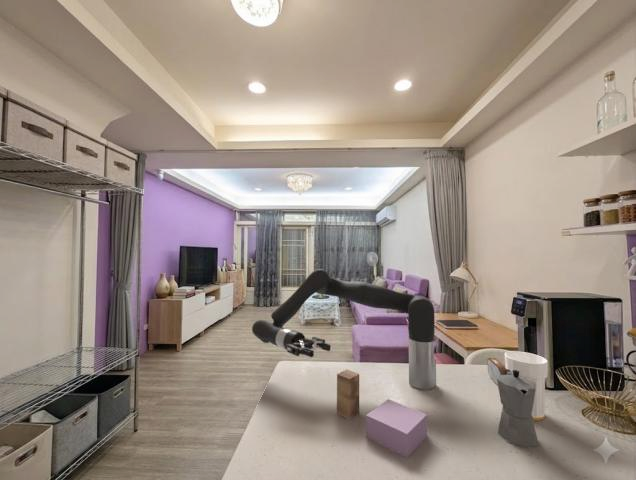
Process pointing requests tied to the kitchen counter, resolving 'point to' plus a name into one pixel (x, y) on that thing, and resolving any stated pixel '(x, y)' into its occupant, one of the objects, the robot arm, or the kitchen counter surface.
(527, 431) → the coffeepot
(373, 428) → the base block
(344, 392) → the walnut block
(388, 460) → the kitchen counter surface
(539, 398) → the cup
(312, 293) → the robot arm
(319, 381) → the kitchen counter surface
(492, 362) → the tin
